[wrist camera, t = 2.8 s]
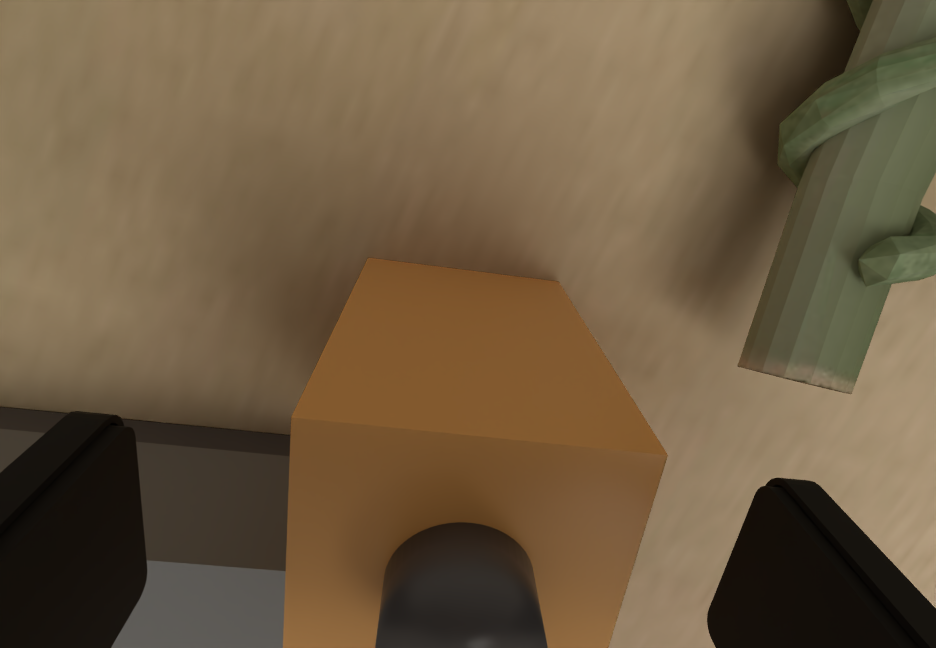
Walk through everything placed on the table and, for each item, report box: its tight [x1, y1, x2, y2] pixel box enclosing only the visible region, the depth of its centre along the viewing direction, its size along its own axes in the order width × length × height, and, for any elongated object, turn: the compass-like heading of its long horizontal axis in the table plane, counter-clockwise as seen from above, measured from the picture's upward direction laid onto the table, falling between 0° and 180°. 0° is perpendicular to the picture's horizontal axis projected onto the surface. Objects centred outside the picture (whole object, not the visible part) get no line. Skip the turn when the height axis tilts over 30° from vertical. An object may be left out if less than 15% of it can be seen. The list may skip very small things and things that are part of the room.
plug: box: [283, 258, 668, 648], centre depth 12 cm, size 5×5×9 cm
